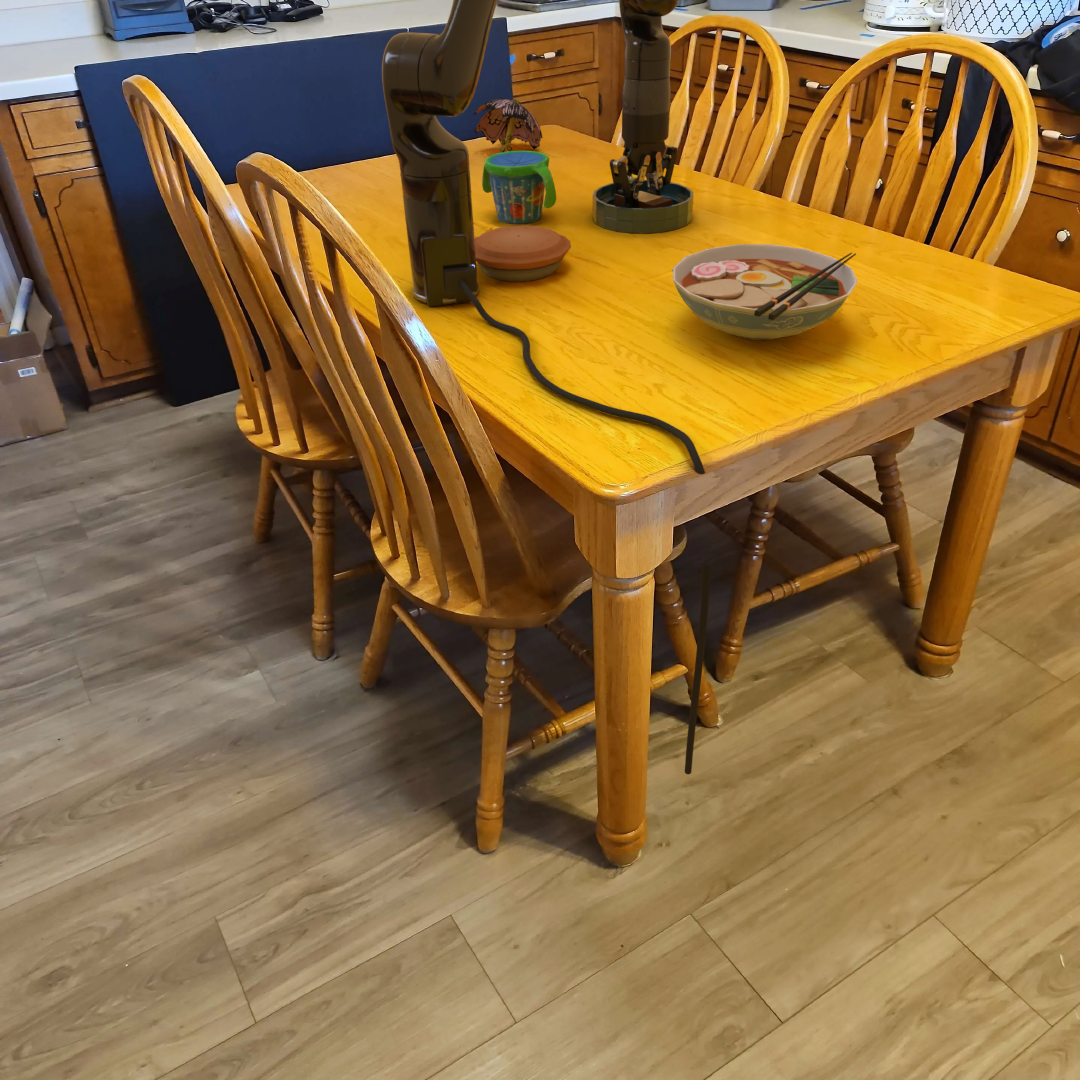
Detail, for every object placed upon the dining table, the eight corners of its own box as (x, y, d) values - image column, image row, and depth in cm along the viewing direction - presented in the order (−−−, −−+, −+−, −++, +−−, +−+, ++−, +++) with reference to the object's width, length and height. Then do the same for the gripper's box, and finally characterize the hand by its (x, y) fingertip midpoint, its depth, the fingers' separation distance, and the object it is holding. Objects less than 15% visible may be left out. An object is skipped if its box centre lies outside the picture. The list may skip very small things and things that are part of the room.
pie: (552, 246, 151) (551, 214, 148) (585, 279, 139) (585, 245, 136) (458, 258, 148) (455, 226, 145) (484, 293, 136) (481, 259, 133)
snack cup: (467, 216, 165) (463, 155, 159) (515, 203, 170) (512, 143, 164) (523, 238, 155) (521, 173, 149) (572, 223, 160) (572, 160, 154)
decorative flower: (560, 99, 194) (501, 86, 185) (559, 159, 196) (500, 149, 187) (517, 110, 205) (459, 98, 196) (516, 167, 207) (459, 158, 198)
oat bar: (670, 220, 158) (671, 199, 156) (652, 226, 156) (653, 204, 154) (632, 208, 164) (632, 188, 162) (614, 214, 162) (614, 193, 160)
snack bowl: (705, 231, 155) (707, 204, 152) (606, 240, 152) (606, 213, 150) (674, 201, 168) (675, 176, 165) (583, 210, 166) (583, 184, 163)
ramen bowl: (729, 281, 137) (734, 224, 132) (881, 318, 125) (893, 257, 120) (629, 340, 121) (630, 278, 117) (792, 389, 109) (801, 322, 105)
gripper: (631, 119, 144) (628, 231, 154) (694, 103, 151) (687, 211, 161) (596, 111, 148) (596, 221, 158) (659, 96, 156) (655, 202, 166)
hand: (642, 216), depth 160 cm, fingers closed on oat bar, 4 cm apart
